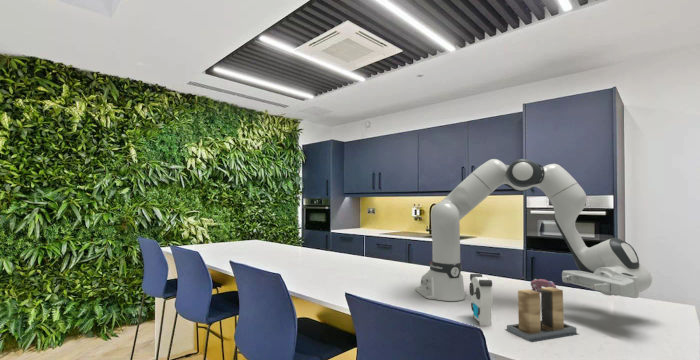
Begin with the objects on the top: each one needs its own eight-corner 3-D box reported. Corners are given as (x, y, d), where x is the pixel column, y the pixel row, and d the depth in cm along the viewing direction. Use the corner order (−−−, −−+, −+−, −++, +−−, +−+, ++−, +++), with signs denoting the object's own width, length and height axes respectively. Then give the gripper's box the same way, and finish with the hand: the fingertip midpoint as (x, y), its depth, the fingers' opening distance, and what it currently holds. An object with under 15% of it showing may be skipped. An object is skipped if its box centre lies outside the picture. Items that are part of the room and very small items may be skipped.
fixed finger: (518, 331, 103) (518, 290, 103) (530, 330, 104) (529, 289, 105) (530, 337, 99) (529, 293, 99) (541, 335, 100) (540, 292, 101)
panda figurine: (458, 317, 118) (458, 272, 119) (493, 318, 117) (492, 273, 118) (469, 331, 106) (468, 280, 107) (507, 332, 105) (506, 281, 106)
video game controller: (531, 294, 155) (528, 281, 153) (533, 287, 158) (531, 274, 156) (556, 298, 148) (554, 284, 146) (558, 291, 151) (556, 278, 149)
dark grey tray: (504, 332, 104) (504, 324, 105) (549, 326, 111) (549, 317, 111) (532, 346, 95) (531, 336, 95) (579, 337, 101) (579, 328, 101)
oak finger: (540, 328, 105) (540, 288, 106) (551, 326, 107) (550, 286, 108) (552, 333, 102) (551, 291, 102) (563, 331, 103) (562, 290, 104)
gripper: (578, 265, 124) (549, 266, 119) (643, 278, 104) (611, 280, 100) (578, 283, 123) (549, 285, 119) (644, 299, 104) (611, 303, 99)
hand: (578, 283), depth 109 cm, fingers open, 8 cm apart
